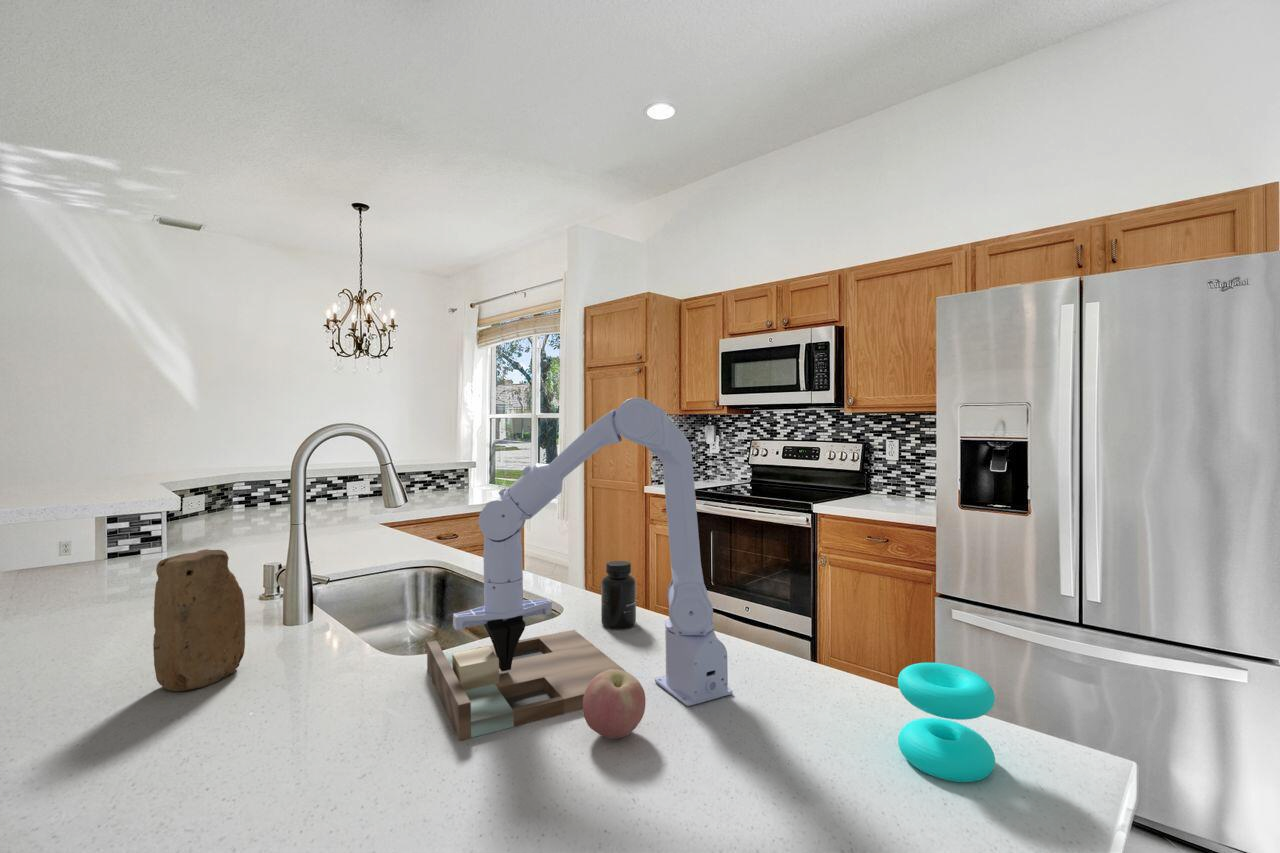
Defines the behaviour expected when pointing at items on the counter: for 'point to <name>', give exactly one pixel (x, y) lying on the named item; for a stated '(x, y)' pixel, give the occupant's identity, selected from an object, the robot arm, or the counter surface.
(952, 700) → the donuts
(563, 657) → the board
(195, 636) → the block
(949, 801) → the counter surface
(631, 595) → the supplement bottle
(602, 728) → the apple
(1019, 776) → the counter surface
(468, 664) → the beech block
